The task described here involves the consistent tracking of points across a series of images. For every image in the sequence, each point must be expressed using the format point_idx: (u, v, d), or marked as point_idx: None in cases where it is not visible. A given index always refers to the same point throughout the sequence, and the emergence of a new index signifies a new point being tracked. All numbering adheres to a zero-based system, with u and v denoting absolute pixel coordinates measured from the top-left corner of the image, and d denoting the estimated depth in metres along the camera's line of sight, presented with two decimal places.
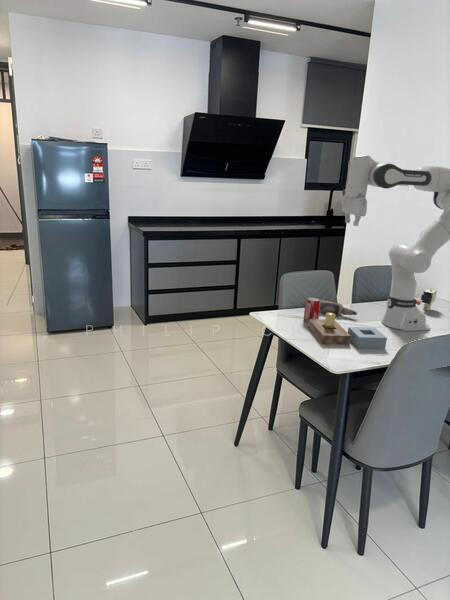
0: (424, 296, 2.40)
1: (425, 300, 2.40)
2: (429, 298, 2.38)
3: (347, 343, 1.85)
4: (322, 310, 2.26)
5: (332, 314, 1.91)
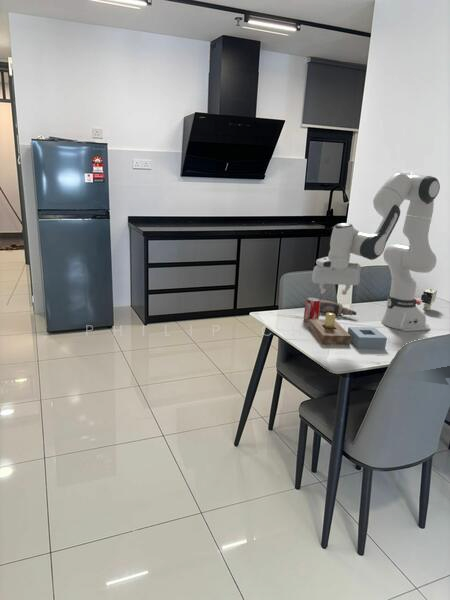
0: (424, 296, 2.40)
1: (425, 300, 2.40)
2: (429, 298, 2.38)
3: (347, 343, 1.85)
4: (322, 310, 2.27)
5: (332, 314, 1.91)
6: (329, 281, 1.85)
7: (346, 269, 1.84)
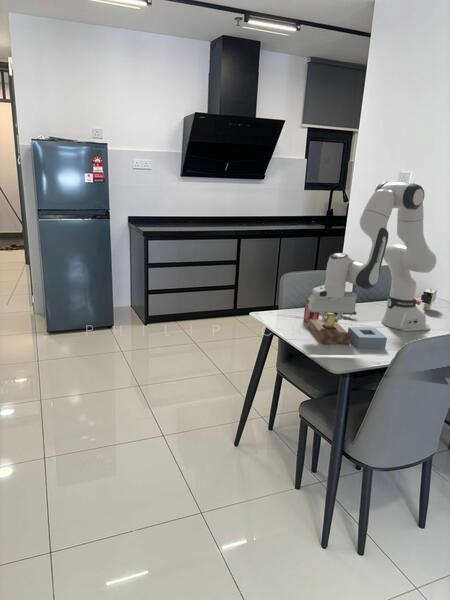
0: (424, 296, 2.40)
1: (425, 300, 2.40)
2: (429, 298, 2.38)
3: (347, 343, 1.85)
4: None
5: (332, 314, 1.91)
6: (325, 310, 1.89)
7: (342, 298, 1.88)
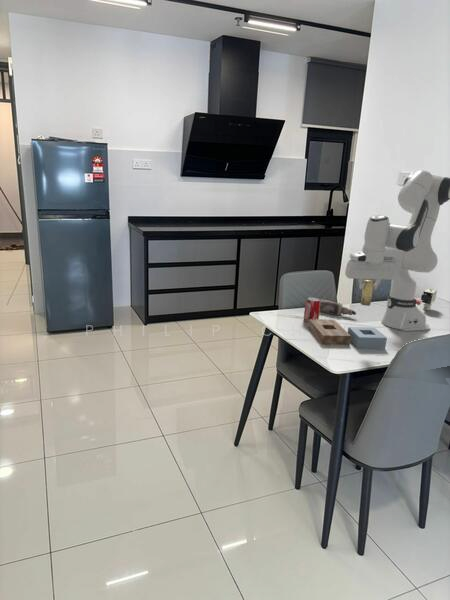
0: (424, 296, 2.40)
1: (425, 300, 2.40)
2: (429, 298, 2.38)
3: (347, 343, 1.85)
4: (322, 309, 2.28)
5: (370, 281, 1.81)
6: (364, 276, 1.79)
7: (381, 263, 1.78)
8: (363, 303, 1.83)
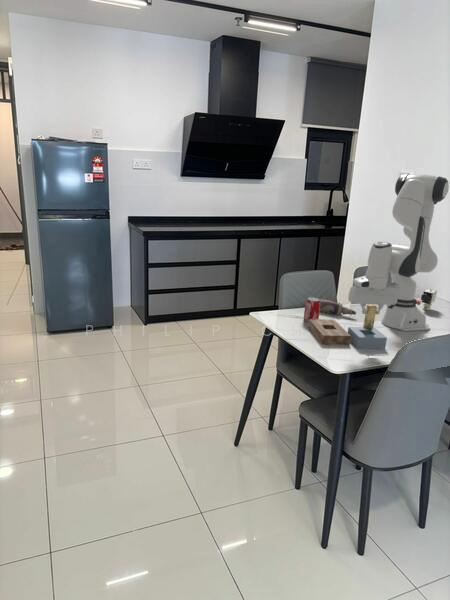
0: (424, 296, 2.40)
1: (425, 300, 2.40)
2: (429, 298, 2.38)
3: (347, 343, 1.85)
4: (322, 309, 2.28)
5: (373, 306, 1.83)
6: (367, 301, 1.81)
7: (384, 289, 1.80)
8: (366, 328, 1.85)
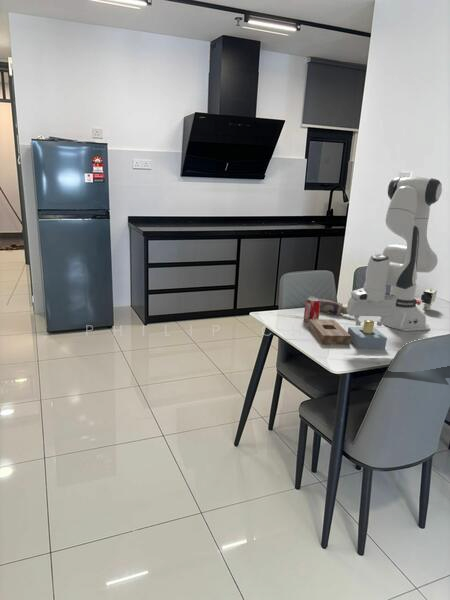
0: (424, 296, 2.40)
1: (425, 300, 2.40)
2: (429, 298, 2.38)
3: (347, 343, 1.85)
4: (322, 309, 2.28)
5: (371, 321, 1.85)
6: (365, 313, 1.82)
7: (382, 301, 1.81)
8: None
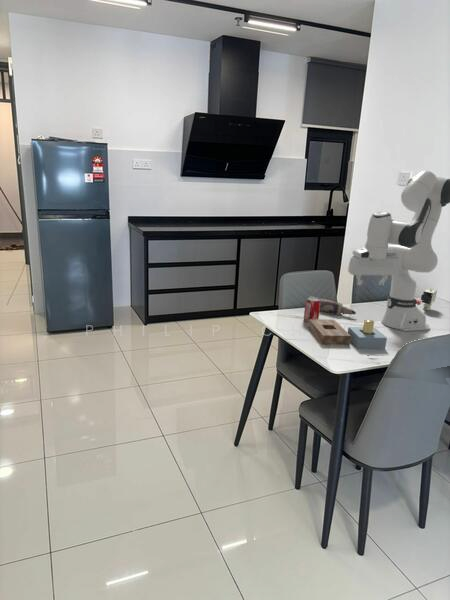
0: (424, 296, 2.40)
1: (425, 300, 2.40)
2: (429, 298, 2.38)
3: (347, 343, 1.85)
4: (322, 309, 2.29)
5: (370, 321, 1.85)
6: (367, 272, 1.80)
7: (384, 259, 1.80)
8: None
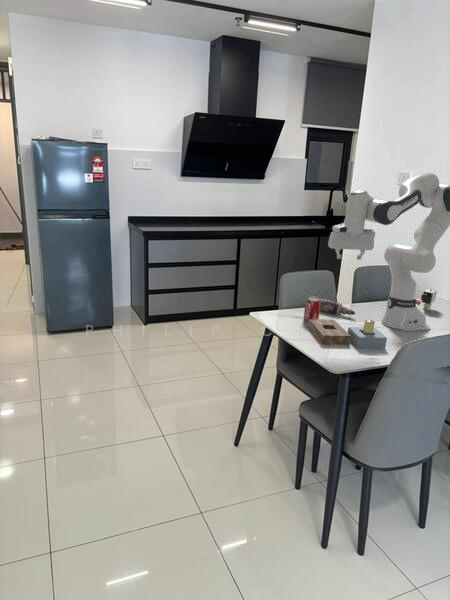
0: (424, 296, 2.40)
1: (425, 300, 2.40)
2: (429, 298, 2.38)
3: (347, 343, 1.85)
4: (321, 308, 2.29)
5: (371, 321, 1.85)
6: (345, 246, 1.95)
7: (361, 234, 1.94)
8: None
